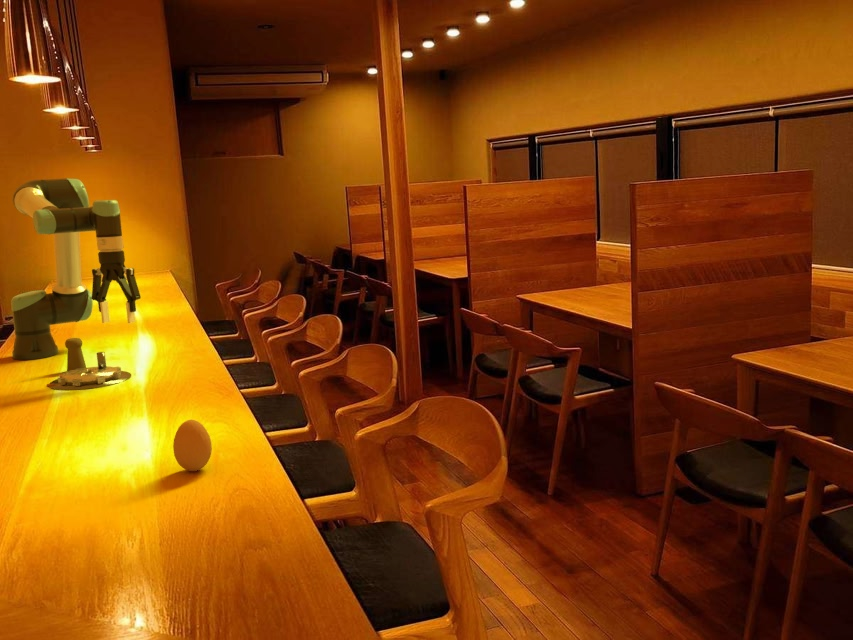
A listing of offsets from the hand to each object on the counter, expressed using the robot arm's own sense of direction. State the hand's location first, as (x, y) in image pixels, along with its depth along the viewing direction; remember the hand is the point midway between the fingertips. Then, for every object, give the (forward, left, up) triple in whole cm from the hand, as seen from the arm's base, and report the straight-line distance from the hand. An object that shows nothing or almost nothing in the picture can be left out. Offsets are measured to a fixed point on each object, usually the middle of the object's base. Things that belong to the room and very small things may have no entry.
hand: (118, 322), depth 250 cm
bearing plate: (-8, -6, -17) cm, 20 cm away
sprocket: (-8, -6, -17) cm, 20 cm away
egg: (+70, -73, -18) cm, 103 cm away
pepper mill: (-22, +5, -18) cm, 29 cm away
